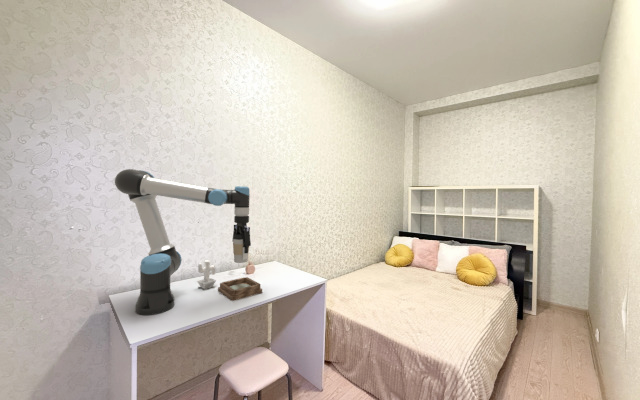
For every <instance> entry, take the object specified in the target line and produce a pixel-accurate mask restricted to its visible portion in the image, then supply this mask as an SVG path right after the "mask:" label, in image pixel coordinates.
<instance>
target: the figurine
mask: <svg viewBox="0 0 640 400" xmlns="http://www.w3.org/2000/svg"><path fill="white" fill-rule="evenodd" d="M210 263H211V261H210V260H209V259H205V260H204V261H203V263H202V262H199V263H198V266H197V267H198V270H197V271H198V273H199V274H202V273H203V279H200V280H199V279H198V280H196V282H197V283H198V285H199V286H200V288H202V289H203V290H206V289H210V288H213V287H214V285H215V283H216V282H217V279H213V278H211V277H210V272H211V275H212V276H213V275H215V274H216V267H215V265H213V264H212V265H210Z"/></svg>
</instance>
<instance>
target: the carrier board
mask: <svg viewBox="0 0 640 400" xmlns="http://www.w3.org/2000/svg"><path fill="white" fill-rule="evenodd" d="M217 292H219V293H220V294H221V295H223V296H224V297H225V298H227V299H229V300H230V301H231V302H234V301H238V300H241V299H245V298H249V297H252V296H257V295H258V294H263V288H261V283H259V282H258V281H255V280H254V279H251V278H250V277H247V276H246V277H239V278H236V279H231V280H227V281H223V282H220V283H219V286H218V287H217Z"/></svg>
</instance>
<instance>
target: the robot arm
mask: <svg viewBox="0 0 640 400" xmlns="http://www.w3.org/2000/svg"><path fill="white" fill-rule="evenodd" d="M114 185H115V187H116V189H117V190H118V191H120V192H121V193H123V194H124V195H125V194H126V195H128V198H129V202H132V203H134V204H135V207H136V210H137V213H138V216H139V219H140V222H141V225H142V228H143V230H144V233H145V236H146V240H147V243H148V245H149V248H150V250H149V252H148V255H146V256H145V257H143V258H142V259H141V261H140V266H139V269H140V274H139V277H140V278H139V279H140V282H139V283H140V284H139V285H140V286H139V287H140V290H139V291H140V292H139V295H138V298H137V301H136V304H135V305H134V306H135V307H134V308H135V309H134V310H135V313H136V314H138V315H142V316H149V315H151V316H152V315H157V314H161V313H165V312H166V311H169V310H171V309H173V308H174V306H175V297H174V295H173V292H172V289H171V276H172V275H173V274H174V273H176V272H177V271H178V270H179V268H180V266H181V265H182V256H181V253H180V252H179V251H177V250H176V247H175V245H174V244H172V243H170V239H169V235H168V234H167V230H166V227H165V223H164V221H163V219H162V216H161V212H160V209H159V206H158V203H157V200H156V198H157V196H159V197H164V198H165V197H166V198H170V199H171V198H172V199H178V200H183V201H191V202H197V203H202V204H208V205H213V206H215V207H216V206H217V207H218V206H219V207H221V206H223V205H234V207H233V208H234V209H233V210H234V211H233V213H234V220H233V221H234V223H235V224H233V234H232V237H233V236H234V235H235V234H236V233H237V234H241V235H242V237H243V245H244V246H243V258H242V259H243V260H244V259H248V258H249V253H248V247H249V248H250V247H251V246H252V245H251V244H252V243H251V242H252V241H251V227H250V226H247V224H248V223H249V221H250V216H249V214H250V199H251V198H250V188H249V187H248V186H241V185H240V186H235V187H234V189H221V188H220V189H219V188H213V187H208V186H207V187H206V186H202V185H195V184H191V183H190V184H189V183H185V182H179V181H173V180H168V179H162V178H156V177H155V176H154V175H153V174H151V173H150V172H148V171H145V170H138V169H134V168H133V169H131V168H129V169H123V170H121V171H119V172H118V174H116V176H115V178H114ZM231 242H232V243H233V239H232V241H231Z"/></svg>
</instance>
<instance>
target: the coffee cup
mask: <svg viewBox="0 0 640 400" xmlns="http://www.w3.org/2000/svg"><path fill="white" fill-rule="evenodd" d="M232 240H233V242H232V250H233V251H232V252H233V261H234V263H236V264H243V263H247V262H248V259H244V260H243V259H242V258H243V246H244V245H243V237H242V235H241V234H237V233H236V234H235V235H234V236H233V235H232ZM249 253H250V246H249V247H248V254H249Z"/></svg>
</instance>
